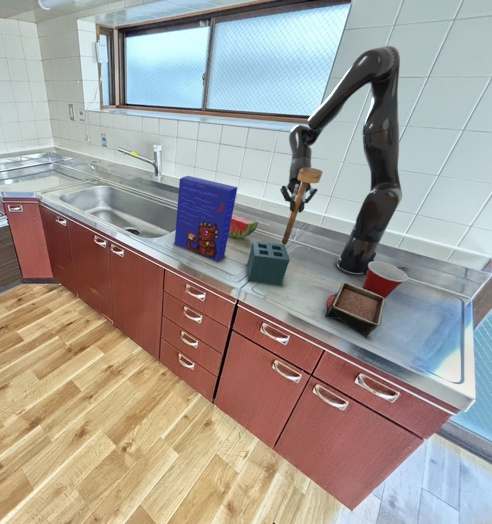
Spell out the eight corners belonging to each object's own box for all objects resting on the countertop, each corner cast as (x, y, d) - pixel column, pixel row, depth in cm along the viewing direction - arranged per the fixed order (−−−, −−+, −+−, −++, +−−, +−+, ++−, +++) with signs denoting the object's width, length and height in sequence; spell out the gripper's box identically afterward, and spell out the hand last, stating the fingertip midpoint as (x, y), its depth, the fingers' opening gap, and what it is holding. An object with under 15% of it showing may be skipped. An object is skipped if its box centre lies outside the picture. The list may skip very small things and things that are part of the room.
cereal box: (224, 256, 121) (237, 186, 105) (217, 261, 117) (230, 190, 101) (182, 239, 133) (188, 175, 117) (174, 244, 129) (179, 178, 113)
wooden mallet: (274, 241, 124) (298, 166, 105) (292, 244, 123) (319, 167, 104) (277, 251, 118) (302, 172, 99) (295, 253, 116) (325, 174, 98)
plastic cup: (393, 313, 92) (412, 283, 85) (353, 301, 97) (368, 272, 90) (389, 295, 100) (407, 266, 93) (353, 285, 104) (367, 257, 98)
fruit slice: (202, 225, 147) (205, 207, 142) (210, 222, 150) (213, 204, 145) (246, 244, 130) (251, 224, 125) (254, 240, 133) (259, 221, 128)
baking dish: (380, 323, 91) (392, 295, 87) (370, 347, 79) (385, 316, 75) (329, 304, 100) (338, 278, 96) (314, 323, 88) (324, 295, 84)
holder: (276, 269, 113) (284, 244, 107) (281, 285, 104) (289, 260, 98) (246, 265, 115) (252, 240, 110) (248, 280, 106) (254, 255, 100)
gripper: (284, 165, 113) (280, 205, 109) (323, 167, 110) (320, 209, 106) (279, 175, 120) (275, 213, 117) (315, 177, 117) (312, 217, 114)
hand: (296, 211), depth 112 cm, fingers closed on wooden mallet
